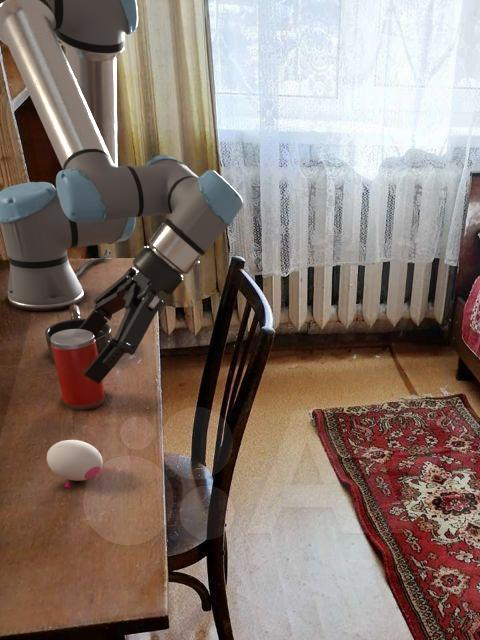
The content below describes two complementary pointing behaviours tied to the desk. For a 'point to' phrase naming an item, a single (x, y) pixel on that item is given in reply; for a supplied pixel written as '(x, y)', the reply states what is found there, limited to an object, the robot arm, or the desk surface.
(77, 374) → the tomato can
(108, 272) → the desk surface
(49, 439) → the desk surface
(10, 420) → the desk surface
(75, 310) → the skillet handle
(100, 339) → the skillet
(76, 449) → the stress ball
